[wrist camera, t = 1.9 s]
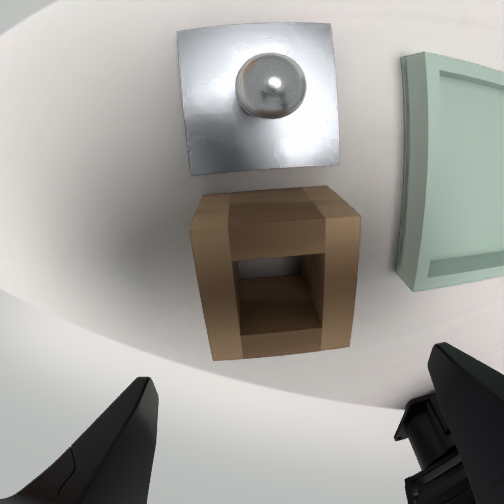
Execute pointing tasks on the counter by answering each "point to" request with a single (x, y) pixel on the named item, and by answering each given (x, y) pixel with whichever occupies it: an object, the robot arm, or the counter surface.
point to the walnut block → (281, 287)
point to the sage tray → (451, 173)
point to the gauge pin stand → (259, 96)
